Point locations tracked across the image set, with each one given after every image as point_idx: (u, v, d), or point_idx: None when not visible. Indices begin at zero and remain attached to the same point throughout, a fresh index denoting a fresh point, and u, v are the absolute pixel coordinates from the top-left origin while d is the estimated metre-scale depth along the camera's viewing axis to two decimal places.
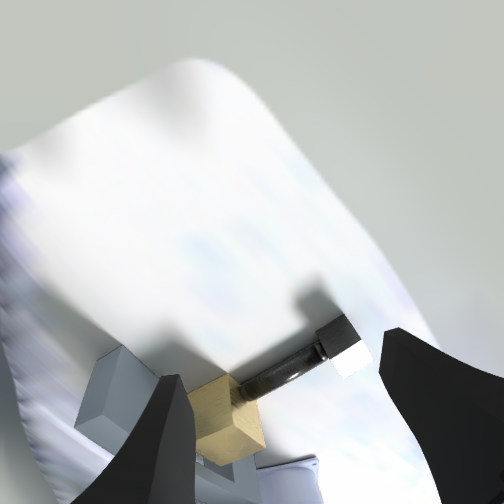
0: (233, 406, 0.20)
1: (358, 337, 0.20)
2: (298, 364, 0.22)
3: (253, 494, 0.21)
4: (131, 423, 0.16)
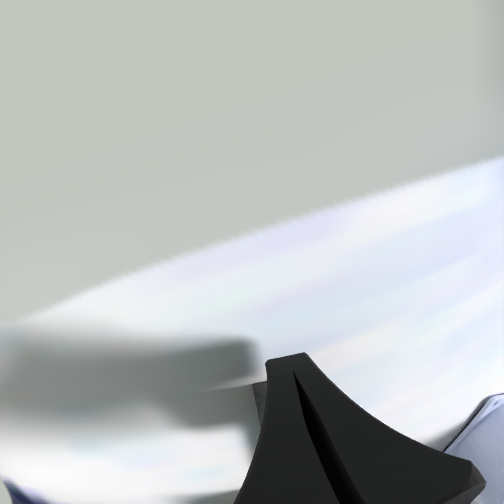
0: None
1: None
2: None
3: None
4: None
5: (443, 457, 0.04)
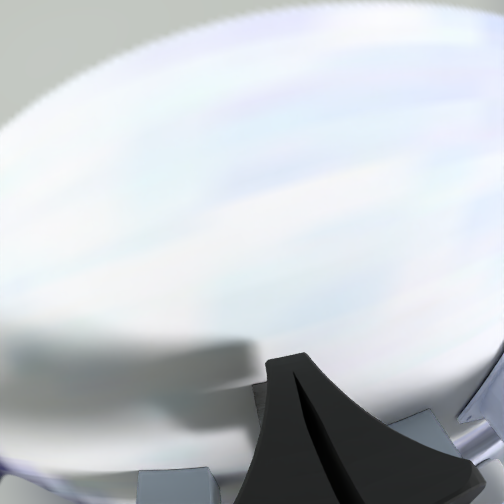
0: None
1: None
2: None
3: None
4: None
5: (443, 457, 0.04)
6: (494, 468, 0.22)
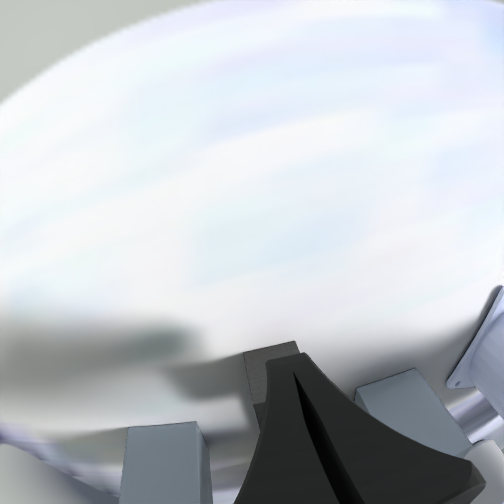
0: None
1: (252, 399, 0.12)
2: None
3: (444, 443, 0.11)
4: None
5: (443, 457, 0.04)
6: (489, 448, 0.23)
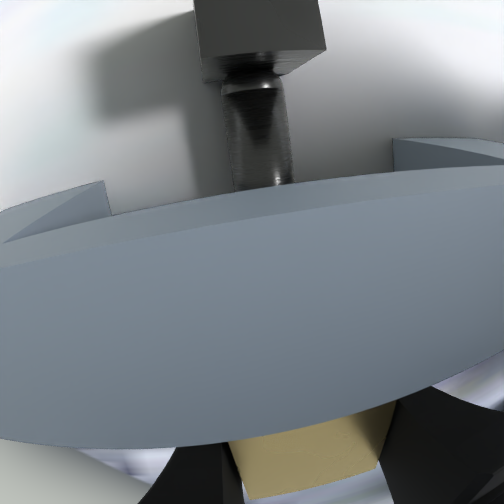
0: None
1: None
2: (242, 157, 0.08)
3: None
4: None
5: None
6: None
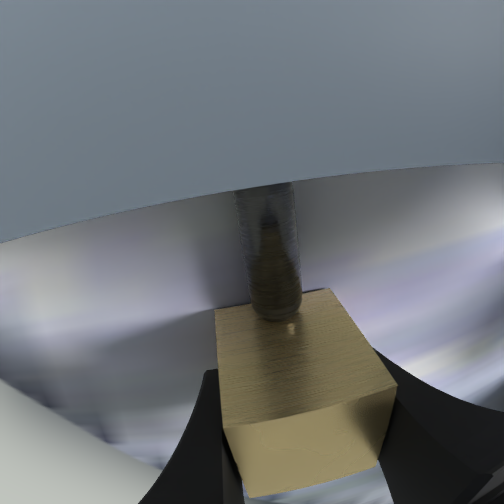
0: (229, 373, 0.08)
1: None
2: None
3: None
4: None
5: None
6: None
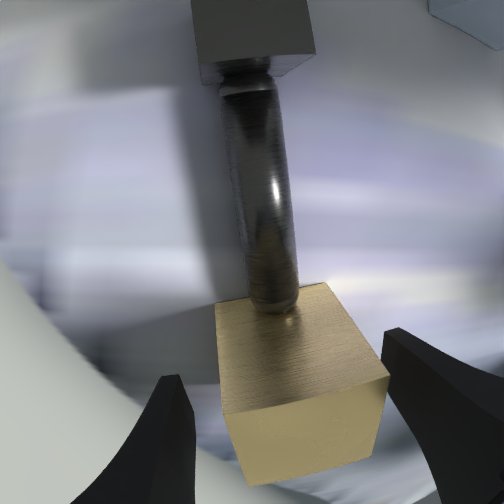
0: (229, 363, 0.08)
1: None
2: (238, 155, 0.08)
3: None
4: None
5: None
6: None
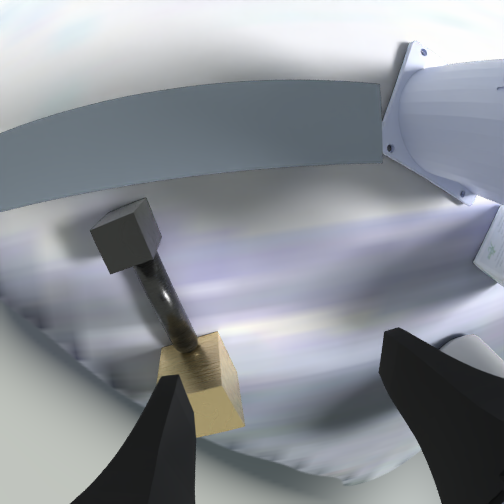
0: None
1: None
2: (145, 290, 0.17)
3: None
4: None
5: None
6: (476, 341, 0.23)
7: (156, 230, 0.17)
